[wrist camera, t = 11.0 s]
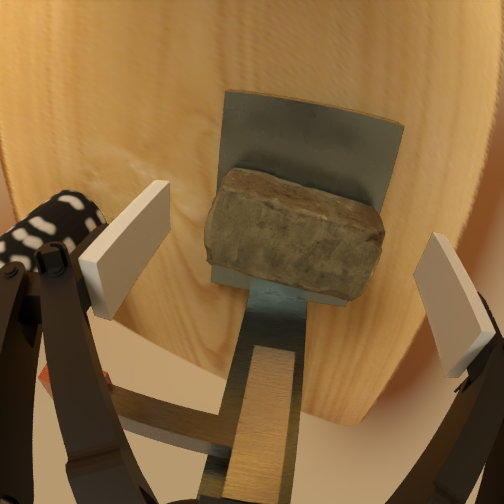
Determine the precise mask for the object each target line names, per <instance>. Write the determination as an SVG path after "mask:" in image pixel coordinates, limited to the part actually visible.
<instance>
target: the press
mask: <svg viewBox="0 0 504 504" xmlns="http://www.w3.org/2000/svg"><path fill="white" fill-rule="evenodd" d="M403 130H404V126H403V125H402V124H400V123H399V122H395V121H392V120H389V119H385V118H381V117H378V116H374V115H370V114H366V113H363V112H359V111H355V110H350V109H346V108H342V107H337V106H333V105H328V104H323V103H318V102H313V101H308V100H302V99H297V98H291V97H285V96H278V95H272V94H265V93H257V92H249V91H240V90H231V89H230V90H227V91H225V99H224V109H223V120H222V131H221V142H220V153H219V165H218V178H217V191H216V195H217V193H218V190H219V188H220V186H221V183H222V180H223V178H224V177H225V176H226V174H227V173H228V172H229V171H230V170H231V169H233V168H243V169H250V170H255V171H259V172H263V173H266V174H270V175H272V176H275V177H277V178H280V179H283V180H286V181H289V182H294V183H298V184H300V185H302V186H304V187H306V188H313V189H318V190H321V191H325V192H328V193H331V194H334V195H337V196H341V197H344V198H347V199H351V200H354V201H358V202H360V203H363V204H365V205H368V206H372V207H374V208H375V210H376V211H377V212H378V214H380V211H381V208H382V205H383V201H384V198H385V195H386V192H387V188H388V185H389V182H390V178H391V175H392V171H393V168H394V164H395V160H396V157H397V153H398V149H399V145H400V142H401V138H402V134H403ZM211 282H212V283H217V284H221V285H226V286H232V287H237V288H242V289H247V290H250V293H249V297H248V301H247V305H246V309H245V313H244V317H243V321H242V325H241V329H240V333H239V337H238V341H237V345H236V349H235V352H234V356H233V360H232V364H231V368H230V372H229V376H228V380H227V384H226V387H225V391H224V395H223V399H222V403H221V407H220V411H219V415H220V416H224V417H229V418H234V419H239V418H240V413H241V408H242V404H243V399H244V394H245V389H246V385H247V380H248V375H249V370H250V365H251V361H252V356H253V351H254V346H255V345H258V346H263V347H268V348H274V349H280V350H285V351H291V352H295V361H294V372H293V383H292V393H291V402H290V412H289V421H288V429H287V438H286V446H285V454H284V462H283V469H282V476H281V484H280V490H279V497H278V504H290V501H291V493H292V487H293V478H294V470H295V460H296V452H297V441H298V432H299V421H300V410H301V398H302V384H303V370H304V354H305V336H306V315H307V301H312V302H318V303H324V304H330V305H335V306H341V307H346V304H347V302H348V301H347V300H342V299H339V298H336V297H332V296H328V295H323V294H318V293H313V292H308V291H304V290H300V289H296V288H292V287H288V286H285V285H281V284H277V283H274V282H270V281H267V280H263V279H259V278H254V277H250V276H245V275H243V274H241V273H239V272H238V271H236V270H232V269H229V268H226V267H222V266H215V265H212V273H211ZM229 463H230V459H227V458H222V457H217V456H213V455H208V457H207V460H206V464H205V468H204V471H203V475H202V479H201V483H200V487H199V490H198V494H197V498H196V499H200V495H206V496H210V497H215V498H220V499H221V498H222V494H223V489H224V485H225V481H226V476H227V472H228V467H229Z"/></svg>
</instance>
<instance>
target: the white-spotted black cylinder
mask: <svg viewBox="0 0 504 504" xmlns="http://www.w3.org/2000/svg"><path fill="white" fill-rule="evenodd" d="M102 224H107V223H106V221H105V219H104V216H103V215H102V213H101V212H100V210H99V208H98V207H97V206H96V205H95V204H94V203H93V202H92V201H91V200H90V199H89V198H88V197H86V196H85V195H83V194H81V193H79V192H76V191H72V190H63V191H60V192H58V193H57V194H55V195H54V196H52V197H51V198H50V199H48V200H47V201H45V202H44V203H43V204H41V205H40V206H39V207H37V208H36V209H35V210H33V211H32V212H31V213H29V214H28V215H27V216H26V217H24V218H23V219H22V220H20V221H19V222H18V223H17V224H15V225H14V226H13V227H12V228H11V229H9V230H8V231H7V232H6V233H4V234H3V235H2V236H1V237H0V268H1V267H3V266H4V265H5V264H7V263H9V262H13V261H20V262H22V263H23V264H24V266H25V268H26V271H27V272H38V269H37V266H36V264H35V261H34V257H33V256H34V253H35V251H36V250H37V249H38V248H39V247H41V246H42V245H44V244H46V243H49V242H54V241H58V242H62V243H64V244H66V246H67V249H68V253H69V254H70V253H71V252H72V251H73V250H74V249H75V248H76V247H77V246H78V245H79V244H80V243H82V241H83V240H84V238H85V237H87V235H88V234H89V233H90V232H91V231H92V230H93V229H95V228H96V227H98V226H100V225H102ZM42 332H43V331H42Z"/></svg>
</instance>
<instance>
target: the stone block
mask: <svg viewBox="0 0 504 504" xmlns="http://www.w3.org/2000/svg"><path fill="white" fill-rule="evenodd" d="M384 236H385V230H384V227H383V222H382V220H381V218H380V215H379V214H378V212H377V211H376V210H375V208H374V207H372V206H368V205H365V204H363V203H360V202H358V201H354V200H351V199H347V198H344V197H341V196H337V195H334V194H331V193H328V192H325V191H321V190H318V189H313V188H306V187H304V186H302V185H300V184H298V183H294V182H289V181H286V180H283V179H280V178H277V177H275V176H272V175H270V174H266V173H263V172H259V171H255V170H250V169H243V168H233V169H231V170H230V171H229V172H228V173H227V174H226V176H225V177H224V178H223V180H222V183H221V186H220V188H219V190H218V193H217V195H216V197H215V198H214V200H213V202H212V207H211V209H210V211H209V213H208V216H207V219H206V224H205V229H204V244H205V247H206V250H207V260H206V261H207V262H208V263H209V264H211V265H215V266H222V267H226V268H229V269H232V270H236V271H238V272H239V273H241V274H243V275H245V276H250V277H254V278H259V279H263V280H267V281H270V282H274V283H277V284H281V285H285V286H288V287H292V288H296V289H300V290H304V291H308V292H313V293H318V294H323V295H328V296H332V297H336V298H339V299H342V300H347V301H353V300H354V299H356V298H358V297H359V296H360V295H361V294H362V293H363V292H364V290H365V288H366V286H367V283H368V282H369V281H370V279H371V278H372V276H373V272H374V269H375V266H376V265H377V263H378V261H379V258H380V255H381V252H382V248H381V245H382V242H383V239H384Z"/></svg>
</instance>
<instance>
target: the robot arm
mask: <svg viewBox="0 0 504 504" xmlns="http://www.w3.org/2000/svg"><path fill="white" fill-rule="evenodd" d="M169 231H170V181H162V180H154V181H153V182H152V183H151V184H150V185H149V186H148V187H147V188H146V189H145V190H144V191H143V192H142V193H141V194H140V195H139V196H138V197H137V198H135V199H134V200H133V201H132V202H131V203H130V204H129V205H128V206H127V207H126V208H125V209H124V210H123V211H122V212H121V213H120V214H119V215H118V216H117V217H116V218H115V219H114V220H113V222H112V223H111V224H110V225H109V224H102V225H100V226H98V227H96V228H95V229H93V230H92V231H91V232H90V233H89V234H88V235H87V237H85V238H84V240H83V241H82V243H80V244H79V245H78V246H77V247H76V248H75V249H74V250H73V251H72V252H71V253H70V254H69V253H68V249H67V246H66V244H64V243H62V242H58V241H54V242H49V243H46V244H44V245H42V246H41V247H39V248H38V249H37V250H36V251H35V253H34V256H33V257H34V261H35V264H36V266H37V269H38V272H27V271H26V268H25V266H24V264H23V263H22V262H20V261H13V262H9V263H7V264H5V265H4V266H3V267H1V268H0V504H33V502H34V482H33V457H32V433H33V432H32V431H33V408H34V394H35V383H36V373H37V365H38V357H39V350H40V343H41V337H42V331H43V336H44V345H45V353H46V360H47V367H48V373H49V379H50V385H51V390H52V395H53V400H54V404H55V409H56V414H57V418H58V422H59V426H60V430H61V434H62V438H63V441H64V445H65V448H66V452H67V456H68V462H67V464H66V473H67V477H68V481H69V483H70V486H71V489H72V492H73V494H74V497H75V500H76V502H77V504H159V503H158V502H157V499H156V497H155V496H154V494H153V492H152V490H151V488H150V486H149V484H148V483H147V481H146V479H145V478H144V476H143V474H142V472H141V470H140V468H139V466H138V464H137V461H136V459H135V457H134V455H133V452H132V450H131V448H130V445H129V443H128V441H127V438H126V436H125V433H124V431H123V428H122V426H121V423H120V421H119V418H118V415H117V413H116V410H115V407H114V404H113V401H112V399H111V396H110V393H109V390H108V387H107V384H106V381H105V377H104V374H103V371H102V368H101V364H100V361H99V358H98V354H97V351H96V347H95V343H94V340H93V336H92V332H91V328H90V324H89V320H88V316H87V313H86V312H87V310H88V309H89V307H90V306H92V309H93V313H94V315H95V316H97V317H100V318H104V319H107V320H110V321H111V320H112V318H113V317H114V315H115V313H116V312H117V310H118V309H119V307H120V305H121V304H122V302H123V301H124V299H125V297H126V296H127V294H128V293H129V291H130V290H131V288H132V286H133V285H134V283H135V282H136V280H137V279H138V277H139V276H140V274H141V273H142V271H143V270H144V268H145V267H146V265H147V263H148V262H149V261H150V259H151V258H152V256H153V255H154V253H155V252H156V250H157V249H158V247H159V246H160V244H161V243H162V241H163V240H164V238H165V237H166V236H167V234H168V233H169ZM413 276H414V278H415V281H416V284H417V287H418V289H419V292H420V295H421V298H422V301H423V304H424V307H425V310H426V313H427V316H428V319H429V323H430V326H431V329H432V333H433V336H434V340H435V343H436V347H437V350H438V354H439V358H440V362H441V365H442V369H443V373H444V377H449V378H458V377H460V375H461V374H462V373H463V372H464V371H465V370H466V369H467V371H468V375H469V376H468V377H467V378H466V379H465V380H464V381H463V382H462V383H461V384H460V385H459V387H458V388H457V389H456V390H455V391H454V392H455V393H456V392H457V391H458V390H459V392H458V394H457V396H456V398H455V399H454V401H453V404H452V405H451V407H450V409H449V411H448V412H447V414H446V416H445V418H444V419H443V421H442V423H441V425H440V426H439V428H438V430H437V431H436V433H435V435H434V436H433V438H432V439H431V441H430V443H429V444H428V446H427V447H426V449H425V451H424V452H423V453H422V455H421V456H420V458H419V459H418V461H417V462H416V464H415V465H414V466H413V468H412V469H411V471H410V472H409V473H408V475H407V476H406V478H405V479H404V480H403V482H402V483H401V484H400V485H399V487H398V488H397V489H396V491H395V492H394V493H393V495H392V496H391V497H390V498H389V499H388V501H387V502H386V503H385V504H465V503H466V501H467V499H468V497H469V495H470V493H471V491H472V489H473V488H474V486H475V484H476V482H477V480H478V478H479V476H480V474H481V472H482V469H483V467H484V465H485V468H484V472H483V476H482V481H481V484H480V488H479V491H478V495H477V498H476V501H475V504H504V338H503V337H502V335H501V333H500V330H499V328H498V326H497V324H496V322H495V319H494V317H492V313H491V311H490V310H489V307H488V305H487V303H486V301H485V299H484V298H483V297H482V296H481V294H480V293H479V292H477V291H476V289H475V287H474V285H473V283H472V281H471V280H470V278H469V276H468V274H467V272H466V270H465V268H464V267H463V265H462V263H461V261H460V259H459V258H458V256H457V254H456V252H455V251H454V249H453V247H452V246H451V244H450V242H449V241H448V239H447V237H446V236H445V235H444V234H440V233H436V232H432V235H431V237H430V239H429V242H428V244H427V246H426V248H425V251H424V253H423V255H422V257H421V259H420V262H419V264H418V266H417V268H416V270H415V272H414V274H413ZM485 463H486V464H485ZM167 504H243V503H241V502H236V501H230V500H225V499H220V498H215V497H210V496H206V495H200V499H189V500H179V501H174V502H171V503H167Z"/></svg>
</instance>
